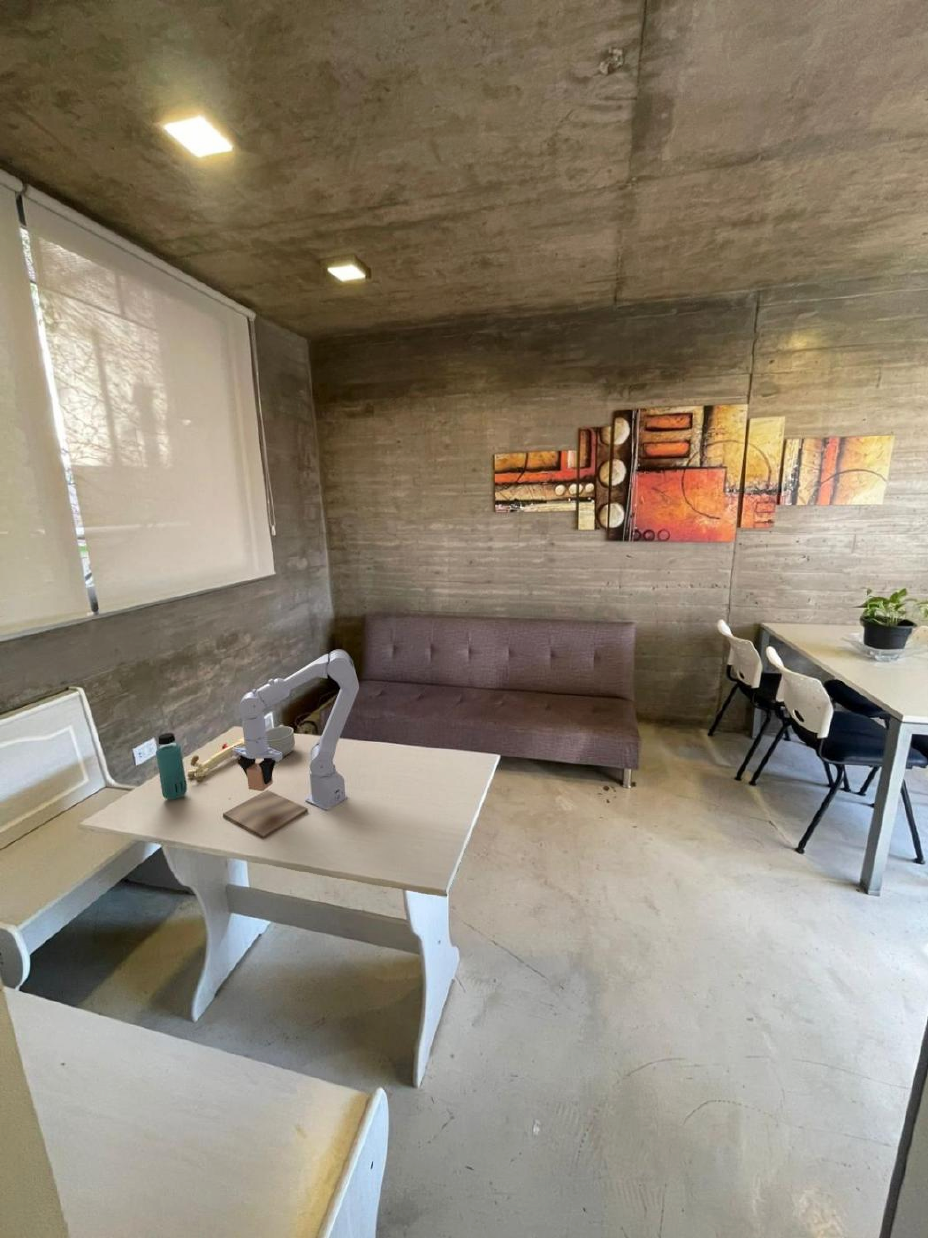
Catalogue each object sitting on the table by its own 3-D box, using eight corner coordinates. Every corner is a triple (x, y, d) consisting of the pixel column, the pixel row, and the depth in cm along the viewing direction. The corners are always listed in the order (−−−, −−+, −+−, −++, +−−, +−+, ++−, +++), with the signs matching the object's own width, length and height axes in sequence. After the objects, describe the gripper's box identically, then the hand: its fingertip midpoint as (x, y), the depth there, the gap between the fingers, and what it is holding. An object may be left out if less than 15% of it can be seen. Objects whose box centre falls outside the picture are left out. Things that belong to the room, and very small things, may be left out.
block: (272, 782, 138) (271, 763, 137) (262, 791, 134) (260, 771, 133) (259, 781, 140) (257, 761, 138) (248, 789, 135) (246, 769, 134)
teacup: (288, 761, 165) (286, 739, 163) (257, 761, 165) (254, 739, 163) (303, 742, 178) (301, 722, 177) (273, 742, 179) (271, 722, 177)
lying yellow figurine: (206, 787, 152) (267, 747, 174) (200, 762, 150) (263, 725, 171) (184, 780, 156) (247, 742, 178) (178, 756, 154) (243, 720, 175)
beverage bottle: (176, 805, 140) (167, 740, 136) (157, 802, 142) (147, 738, 137) (193, 792, 146) (184, 730, 142) (174, 790, 148) (165, 729, 144)
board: (307, 811, 136) (307, 808, 136) (263, 839, 125) (263, 835, 125) (267, 792, 146) (267, 789, 146) (223, 817, 134) (222, 813, 134)
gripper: (287, 732, 136) (291, 777, 138) (242, 727, 139) (247, 771, 142) (271, 743, 129) (276, 790, 132) (224, 738, 133) (230, 783, 135)
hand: (260, 781), depth 136 cm, fingers closed on block, 4 cm apart
